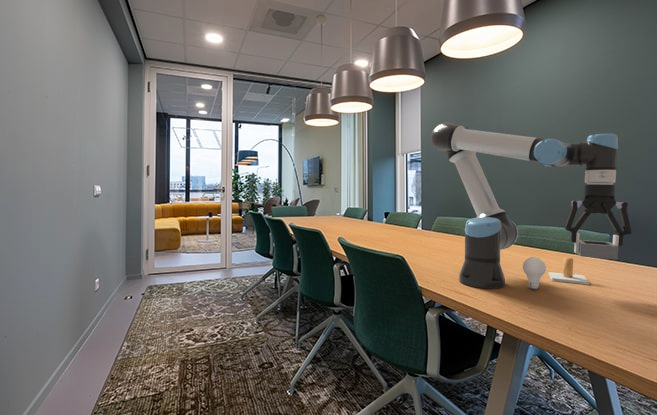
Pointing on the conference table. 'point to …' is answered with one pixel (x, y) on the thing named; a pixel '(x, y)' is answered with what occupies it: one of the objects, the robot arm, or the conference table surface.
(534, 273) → the light bulb
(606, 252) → the grey square frame
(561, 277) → the keeper
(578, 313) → the conference table surface
